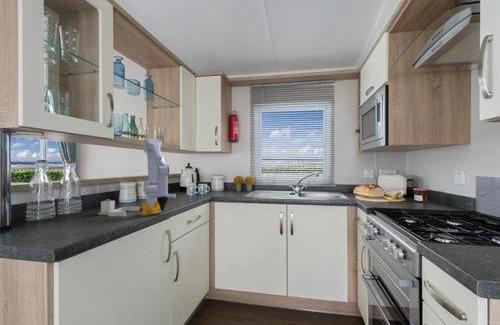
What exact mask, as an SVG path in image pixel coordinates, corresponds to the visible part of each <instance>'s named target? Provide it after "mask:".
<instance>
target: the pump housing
mask: <svg viewBox="0 0 500 325" xmlns="http://www.w3.org/2000/svg"><path fill="white" fill-rule="evenodd" d="M115 206H116V201H115V200H111V199H110V198H107V199H105V200H103V201H100V212H97V216H102V215H103V216H104V215H106V216H107V215H108V212H110V211H113V210H116V207H115Z"/></svg>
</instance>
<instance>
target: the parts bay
mask: <svg viewBox="0 0 500 325" xmlns="http://www.w3.org/2000/svg"><path fill="white" fill-rule="evenodd" d="M140 208H141V207H140V205H139V206H137V205H136V206H123V207H119V208H115V210H113V211H110V212H108V217H111V218H112V217H126V216H127V213H126V212H139V211H140Z"/></svg>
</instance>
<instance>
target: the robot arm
mask: <svg viewBox="0 0 500 325" xmlns="http://www.w3.org/2000/svg"><path fill="white" fill-rule="evenodd" d="M162 146H163V141H162V139H160V138H144V140H143V152H144V153H146V157H147V177H148V178H147V179H146V180H145V181H144V182H143V188H142V189H143V190H142V191H143V194H144V195H145V196H146V197H145V198H146V199H145V201H146V202H145V203H149V207H153V206H154V201H158V203H159V206H160V212H164V211H165V208H166V205H167V202H168V200H169V198H170V199H171V198H173V199H175V198H177V197H176V196H177V195H176V193H169V192H168V191H169V184H168V183H169V181H168V179H169V177H168V176H169V174H170V166H169V165H168V164H167V163H166V161H165V160H166V159H165V157H164V156H163V155H162V153H161V149H162Z"/></svg>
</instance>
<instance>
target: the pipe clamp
mask: <svg viewBox="0 0 500 325" xmlns="http://www.w3.org/2000/svg"><path fill="white" fill-rule="evenodd" d="M141 206H142V216H146V215H147V216H150V215H153V214H157V213H160V212H161V209H160V206H159V203H158V201H154V206H153V207H149V203H146V202H144V203H143V202H142V205H141Z"/></svg>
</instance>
